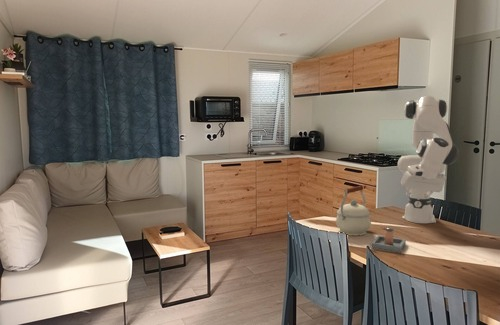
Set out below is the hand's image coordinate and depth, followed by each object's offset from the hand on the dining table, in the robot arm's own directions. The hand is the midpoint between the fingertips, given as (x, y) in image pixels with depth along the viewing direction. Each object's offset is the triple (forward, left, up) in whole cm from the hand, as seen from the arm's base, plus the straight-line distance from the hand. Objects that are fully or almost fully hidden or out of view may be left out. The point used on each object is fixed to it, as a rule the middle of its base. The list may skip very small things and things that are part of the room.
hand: (416, 196), depth 184 cm
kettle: (-5, -31, -24) cm, 40 cm away
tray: (+10, -10, -24) cm, 28 cm away
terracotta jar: (+10, -10, -23) cm, 27 cm away
